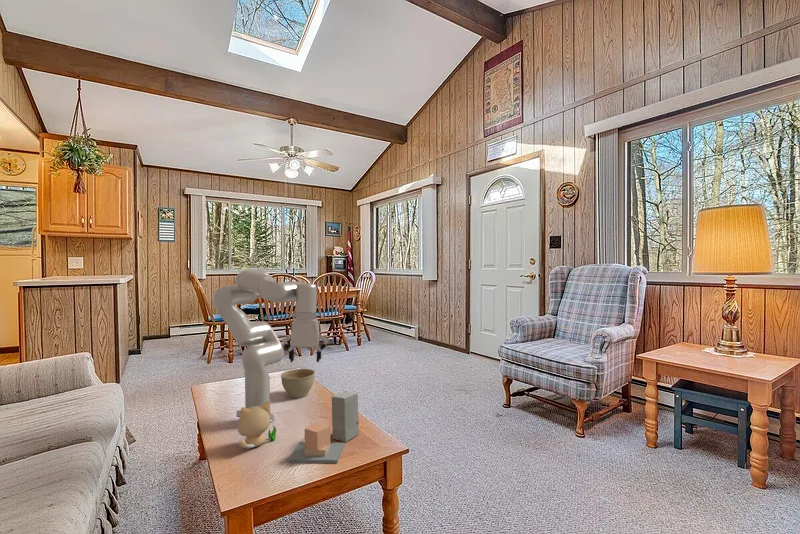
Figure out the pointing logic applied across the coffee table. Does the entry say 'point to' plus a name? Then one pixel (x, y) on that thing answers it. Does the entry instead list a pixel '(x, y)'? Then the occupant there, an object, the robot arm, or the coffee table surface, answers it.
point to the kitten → (255, 425)
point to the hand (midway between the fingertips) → (305, 361)
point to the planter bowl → (298, 382)
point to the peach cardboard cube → (317, 436)
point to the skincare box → (345, 416)
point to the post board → (317, 459)
